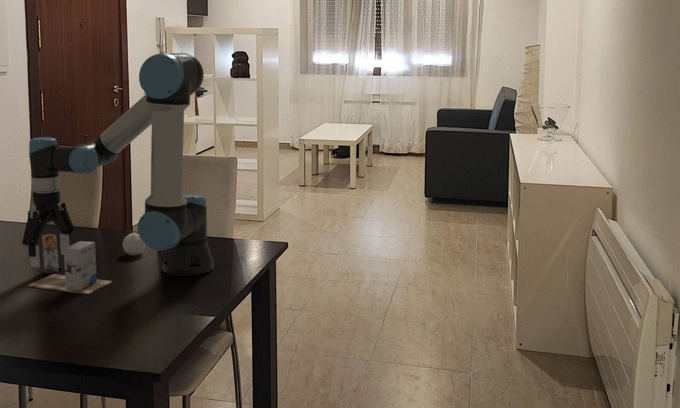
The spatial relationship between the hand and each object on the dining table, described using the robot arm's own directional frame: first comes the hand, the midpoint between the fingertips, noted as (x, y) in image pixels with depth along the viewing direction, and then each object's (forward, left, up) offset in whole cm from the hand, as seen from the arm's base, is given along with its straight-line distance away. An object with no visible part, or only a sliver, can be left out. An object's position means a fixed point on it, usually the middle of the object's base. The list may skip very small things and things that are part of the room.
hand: (50, 260), depth 220 cm
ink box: (-17, +9, -3) cm, 20 cm away
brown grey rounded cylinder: (0, 0, -3) cm, 3 cm away
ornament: (-13, -24, -4) cm, 28 cm away
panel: (-13, +8, -3) cm, 16 cm away
